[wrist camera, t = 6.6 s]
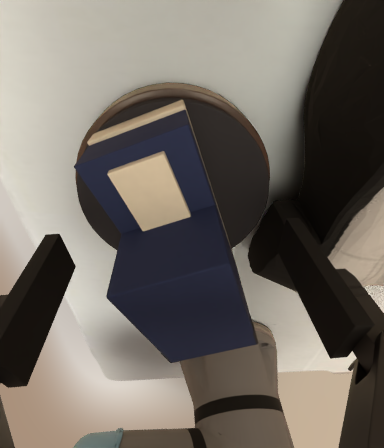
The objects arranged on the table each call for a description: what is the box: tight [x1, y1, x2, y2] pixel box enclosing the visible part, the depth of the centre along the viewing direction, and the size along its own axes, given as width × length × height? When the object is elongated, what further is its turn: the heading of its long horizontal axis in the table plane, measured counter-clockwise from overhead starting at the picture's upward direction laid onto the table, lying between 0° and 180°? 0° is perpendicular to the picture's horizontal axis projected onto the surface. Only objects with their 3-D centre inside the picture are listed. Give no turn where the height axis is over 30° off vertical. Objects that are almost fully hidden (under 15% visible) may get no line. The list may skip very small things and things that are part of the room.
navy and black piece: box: [74, 98, 269, 363], centre depth 14 cm, size 14×14×9 cm
